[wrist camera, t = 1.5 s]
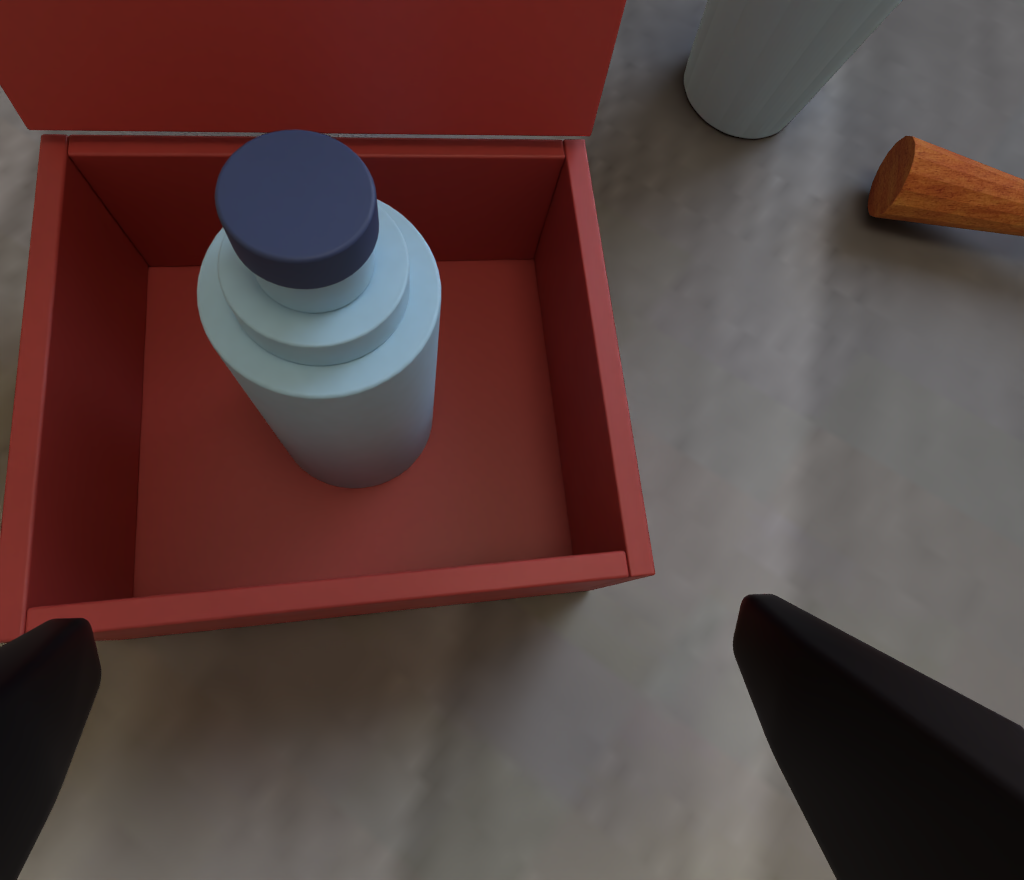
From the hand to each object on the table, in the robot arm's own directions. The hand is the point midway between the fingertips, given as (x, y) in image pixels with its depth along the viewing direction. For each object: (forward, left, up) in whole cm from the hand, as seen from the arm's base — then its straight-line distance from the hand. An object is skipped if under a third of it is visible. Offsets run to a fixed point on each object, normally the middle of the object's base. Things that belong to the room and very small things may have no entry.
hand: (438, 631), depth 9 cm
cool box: (+6, +5, -13) cm, 15 cm away
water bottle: (+6, +5, -13) cm, 15 cm away
